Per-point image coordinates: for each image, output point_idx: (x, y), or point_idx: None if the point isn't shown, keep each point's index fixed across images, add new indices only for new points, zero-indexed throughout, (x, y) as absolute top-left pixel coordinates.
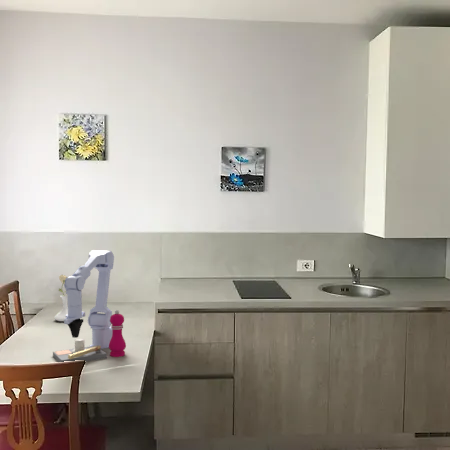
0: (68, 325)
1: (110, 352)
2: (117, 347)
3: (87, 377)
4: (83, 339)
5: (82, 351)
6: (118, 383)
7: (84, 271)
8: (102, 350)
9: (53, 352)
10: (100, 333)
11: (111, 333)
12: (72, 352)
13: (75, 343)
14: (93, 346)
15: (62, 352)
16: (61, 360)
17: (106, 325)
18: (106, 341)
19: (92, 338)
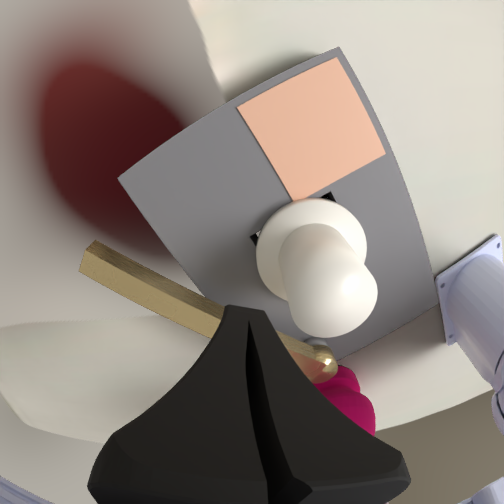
0: (145, 415)
1: (323, 382)
2: None
3: (34, 331)
4: (353, 325)
5: (188, 321)
6: (39, 403)
7: None
8: (339, 358)
9: (322, 53)
10: (486, 349)
11: (484, 373)
12: (279, 212)
13: (301, 264)
14: (427, 294)
15: (312, 124)
16: (118, 178)
17: (492, 408)
18: (465, 337)
19: (501, 280)
